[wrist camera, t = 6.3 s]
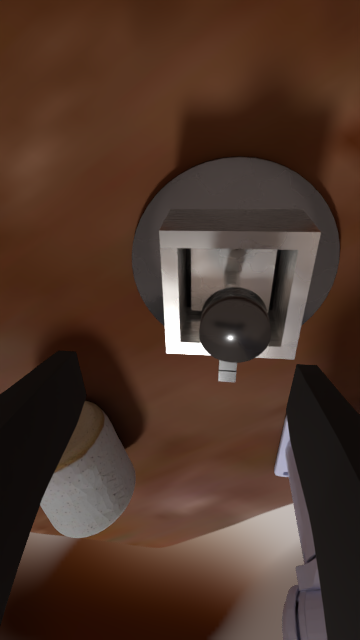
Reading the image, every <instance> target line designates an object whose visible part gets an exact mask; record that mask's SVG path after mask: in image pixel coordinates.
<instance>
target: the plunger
mask: <svg viewBox="0 0 360 640" xmlns="http://www.w3.org/2000/svg"><path fill="white" fill-rule="evenodd" d="M276 255H277V249H211V248H191V308H192V310H197V311H201V319H200V329H199V338H200V342H201V344H202V346H203V348H204V349H205V350H206V351H207V352H208V353H209V354H210V355H211V356H213V357H214V358H216V359H219V360H221V361H225V362H231V363H238V362H245V361H248V360H251V359H253V358H255V357H257V356H259V355H260V354H261V353H262V352H263V351H264V350H265V349H266V348H267V346H268V345H269V342H270V339H271V327H270V322H269V317H268V311H269V304H270V297H271V290H272V283H273V276H274V269H275V262H276Z"/></svg>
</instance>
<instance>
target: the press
mask: <svg viewBox="0 0 360 640" xmlns="http://www.w3.org/2000/svg"><path fill="white" fill-rule="evenodd" d="M191 248H211V249H277V255H276V262H275V269H274V276H273V283H272V290H271V297H270V304H269V311H268V317H269V322H270V327H271V339H270V342H269V345H268V346H267V348H266V349H265V350H264V351H263V352H262V353H261V354H260V355H259V356H257V357H256V358H276V359H294V357H295V353H296V348H297V343H298V338H299V334H300V329H301V325H303V324H304V323H305V322H306V321H307V320H308V319H309V318H310V317H311V316H312V315H313V314H314V313H315V312H316V311H317V310H318V308H319V307H320V306H321V304H322V303H323V301H324V300H325V298H326V297H327V295H328V293H329V291H330V289H331V287H332V285H333V282H334V279H335V276H336V273H337V269H338V263H339V252H340V244H339V236H338V230H337V227H336V223H335V219H334V217H333V215H332V213H331V211H330V208H329V206H328V205H327V203H326V202H325V200H324V199H323V197H322V196H321V194H320V193H319V192H318V191H317V190H316V189H315V188H314V187H313V186H312V185H311V184H310V183H309V182H308V181H307V180H305V179H304V178H303V177H301V176H300V175H299V174H298V173H296V172H294V171H292V170H291V169H289V168H287V167H285V166H283V165H280V164H278V163H275V162H272V161H270V160H265V159H260V158H255V157H241V156H236V157H225V158H219V159H215V160H210V161H207V162H204V163H201V164H199V165H196V166H194V167H192V168H190V169H188V170H186V171H184V172H183V173H181V174H179V175H178V176H176V177H175V178H174V179H172V180H171V181H170V182H168V183H167V184H166V185H165V186H164V187H163V188H162V189H161V190H160V191H159V192H158V193H157V194H156V196H155V197H154V198H153V200H152V201H151V202H150V204H149V205H148V206H147V208H146V210H145V212H144V213H143V215H142V217H141V219H140V222H139V224H138V227H137V229H136V233H135V237H134V241H133V250H132V268H133V273H134V279H135V282H136V285H137V288H138V291H139V293H140V295H141V297H142V299H143V301H144V303H145V304H146V306H147V307H148V309H149V310H150V311H151V313H152V314H153V315H154V316H155V317H156V319H157V320H158V321H160V322H161V323H162V324H163V325H164V326H165V336H166V353H176V354H196V355H210V354H209V353H208V352H207V351H206V350H205V349H204V348H203V346H202V344H201V342H200V338H199V329H200V319H201V311H197V310H192V308H191ZM236 368H237V363H231V362H225V361H221V360H219V377H218V381H225V382H235V380H236Z"/></svg>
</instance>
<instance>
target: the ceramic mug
mask: <svg viewBox="0 0 360 640" xmlns="http://www.w3.org/2000/svg"><path fill="white" fill-rule="evenodd" d="M134 487H135V470H134V467H133V464H132V463H131V461H130V459H129V457H128V455H127V453H126V451H125V449H124V447H123V445H122V443H121V441H120V440H119V438H118V436H117V434H116V432H115V430H114V428H113V425H112V424H111V422H110V420H109V418H108V417H107V415H106V414H105V413H104V412H103V411H102V410H101V408H99V407H98V406H97V405H96V404H94V403H91V402H88V401H85V402H84V405H83V408H82V412H81V414H80V417H79V420H78V423H77V425H76V428H75V430H74V432H73V434H72V436H71V438H70V440H69V443H68V445H67V447H66V449H65V451H64V453H63V455H62V457H61V459H60V461H59V464H58V466H57V468H56V470H55V472H54V474H53V476H52V478H51V480H50V482H49V484H48V487H47V489H46V491H45V494H44V496H43V498H42V501H41V503H40V505H41V507H42V509H43V510H44V512H45V514H46V515H47V517H48V518H49V520H50V521H51V523H52V525H53V526H54V527H55V528H56V530H58V531H59V532H60V533H61V534H63V535H65V536H68V537H73V538H82V537H88V536H91V535H94V534H97V533H99V532H101V531H102V530H104V529H106V528H107V527H108V526H110V525H111V524H112V523H113V522H114V521H115V520H116V519H117V518H118V517H119V516H120V515H121V514H122V513H123V511H124V510H125V509H126V507H127V505H128V504H129V502H130V499H131V497H132V494H133V491H134Z"/></svg>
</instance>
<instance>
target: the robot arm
mask: <svg viewBox="0 0 360 640" xmlns="http://www.w3.org/2000/svg"><path fill="white" fill-rule="evenodd" d="M85 399H86V391H85V387H84V383H83V379H82V374H81V370H80V366H79V362H78V358H77V354H76V352H73V351H58V352H56V353H55V354H53V355H52V356H51V357H49V358H48V359H47V360H45V361H44V362H43V363H41V364H40V365H39V366H37V367H36V368H35V369H33V370H32V371H31V372H30V373H28V374H27V375H26V376H24V377H23V378H22V379H20V380H19V381H18V382H16V383H15V384H14V385H12V386H11V387H10V388H8V389H7V390H6V391H4V392H3V393H2V394H0V625H1V621H2V618H3V614H4V611H5V607H6V604H7V601H8V598H9V595H10V592H11V588H12V585H13V582H14V579H15V575H16V572H17V569H18V566H19V563H20V560H21V557H22V554H23V551H24V548H25V545H26V542H27V540H28V537H29V533H30V531H31V528H32V525H33V523H34V520H35V517H36V514H37V512H38V509H39V506H40V503H41V501H42V498H43V496H44V494H45V491H46V489H47V487H48V484H49V482H50V480H51V478H52V476H53V474H54V472H55V470H56V468H57V466H58V464H59V461H60V459H61V457H62V455H63V453H64V451H65V449H66V447H67V445H68V443H69V440H70V438H71V436H72V434H73V432H74V430H75V428H76V425H77V423H78V420H79V417H80V414H81V412H82V408H83V405H84V402H85ZM286 413H287V415H286V418H285V422H284V427H283V431H282V436H281V441H280V445H279V450H278V454H277V459H276V463H275V468H274V472H275V474H276V475H277V476H283V477H289V481H290V487H291V492H292V498H293V503H294V509H295V515H296V520H297V525H298V531H299V536H300V542H301V548H302V554H303V559H304V565H301V566H297V567H296V573H297V580H298V585H295V586H292V587H291V588H290V589H289V591H288V594H287V598H286V601H285V604H284V608H283V616H282V631H283V640H360V415H359V414H358V413H357V412H356V411H355V410H354V408H353V407H352V406H351V405H350V404H349V403H348V402H347V400H346V399H345V398H344V397H343V396H342V395H341V393H340V392H339V391H338V390H337V389H336V387H335V386H334V385H333V384H332V383H331V381H330V380H329V379H328V378H327V377H326V375H325V374H324V373H323V372H322V371H321V370H320V368H319V367H318V366H317V365H301V364H297V365H296V369H295V374H294V378H293V382H292V386H291V391H290V395H289V399H288V403H287V408H286Z"/></svg>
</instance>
